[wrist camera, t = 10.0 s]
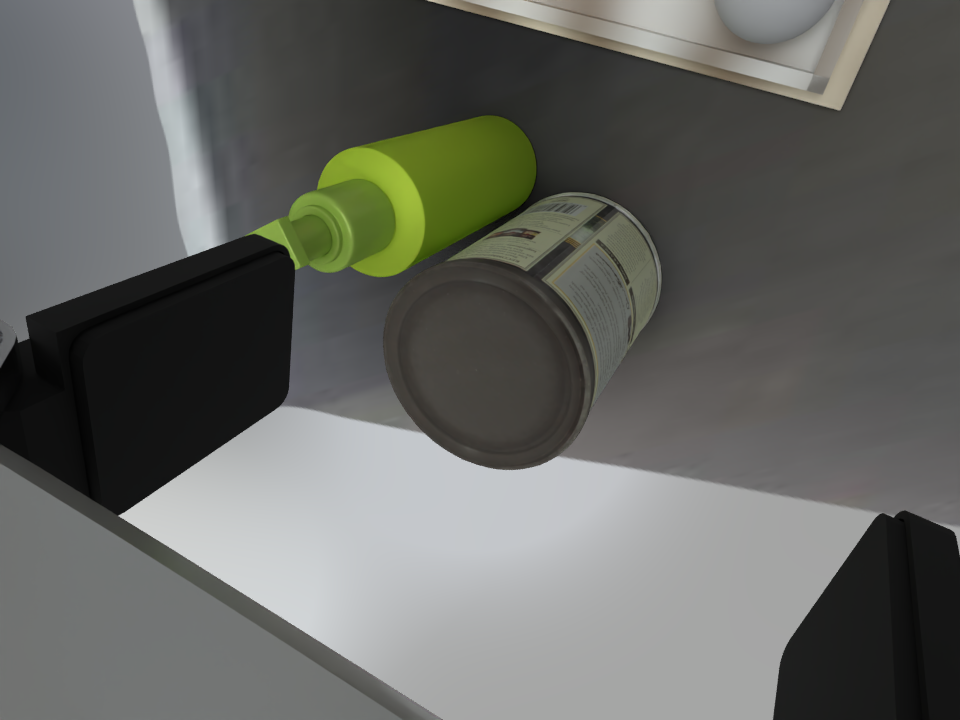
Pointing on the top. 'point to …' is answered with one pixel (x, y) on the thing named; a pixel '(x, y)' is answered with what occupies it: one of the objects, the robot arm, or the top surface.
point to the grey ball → (771, 18)
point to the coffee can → (522, 330)
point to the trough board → (709, 40)
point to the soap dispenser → (408, 197)
